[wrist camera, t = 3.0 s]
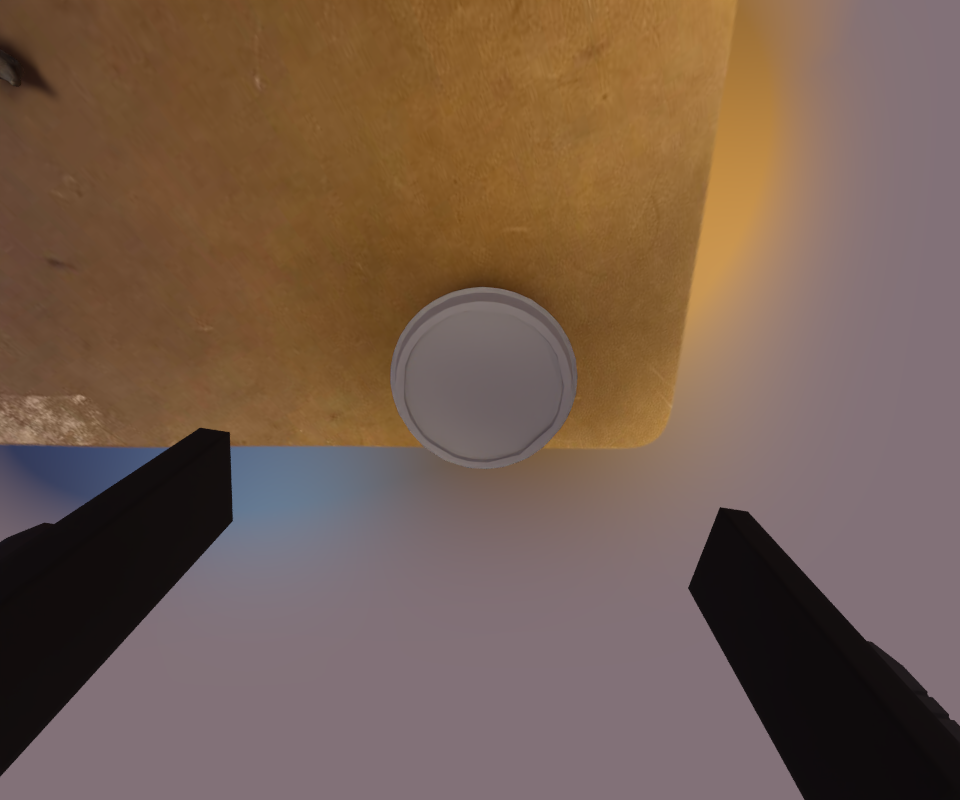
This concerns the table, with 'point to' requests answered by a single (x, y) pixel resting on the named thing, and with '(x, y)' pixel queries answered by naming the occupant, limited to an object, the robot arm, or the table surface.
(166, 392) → the table surface
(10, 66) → the rhino figurine
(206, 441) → the robot arm
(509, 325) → the disposable coffee cup
